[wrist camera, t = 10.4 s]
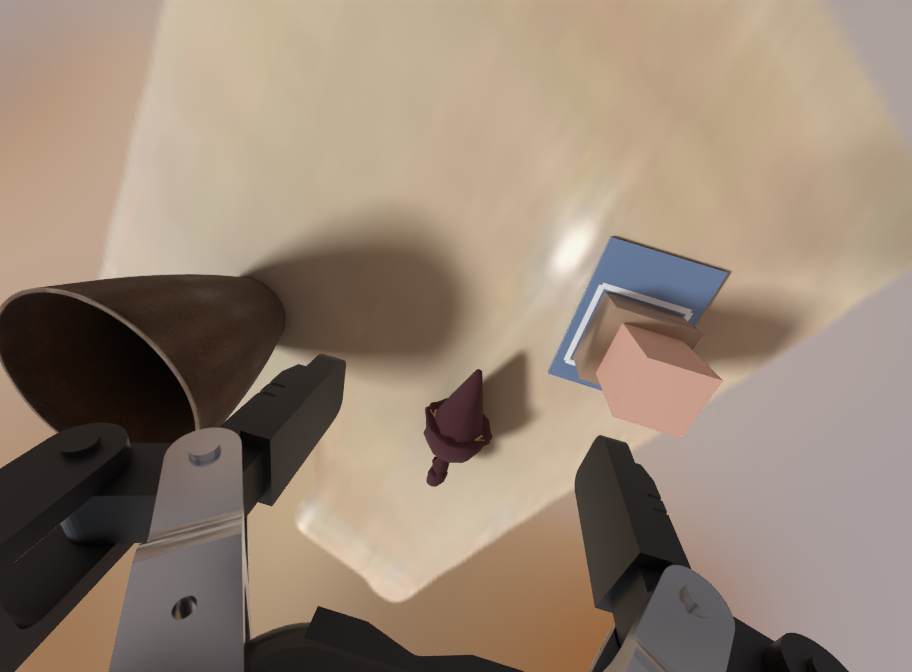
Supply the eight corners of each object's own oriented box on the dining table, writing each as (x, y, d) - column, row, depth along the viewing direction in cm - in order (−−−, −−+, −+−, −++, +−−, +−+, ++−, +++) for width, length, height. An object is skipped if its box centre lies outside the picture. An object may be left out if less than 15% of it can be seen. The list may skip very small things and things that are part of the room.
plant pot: (305, 389, 42) (195, 502, 27) (188, 341, 42) (15, 429, 27) (330, 277, 35) (203, 347, 21) (191, 218, 35) (-35, 249, 21)
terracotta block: (622, 322, 28) (647, 357, 23) (683, 341, 28) (722, 380, 23) (595, 373, 30) (612, 416, 25) (651, 390, 30) (681, 437, 25)
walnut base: (605, 291, 31) (616, 307, 28) (681, 315, 31) (702, 334, 28) (573, 357, 34) (579, 378, 31) (642, 379, 34) (656, 403, 31)
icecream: (427, 370, 31) (396, 475, 38) (504, 411, 29) (455, 512, 37) (459, 338, 36) (426, 435, 44) (525, 371, 35) (479, 466, 42)
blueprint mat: (610, 236, 30) (612, 237, 29) (725, 271, 29) (729, 273, 29) (548, 371, 36) (548, 374, 35) (643, 401, 36) (644, 404, 35)
